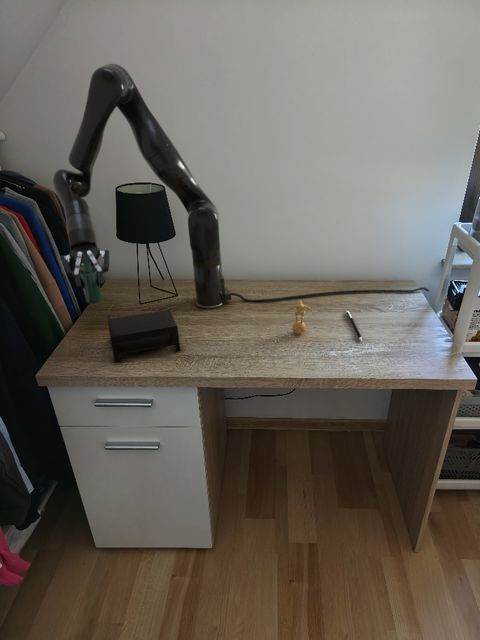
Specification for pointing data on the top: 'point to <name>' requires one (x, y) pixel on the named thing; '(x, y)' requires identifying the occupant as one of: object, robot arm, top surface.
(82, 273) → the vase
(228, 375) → the top surface
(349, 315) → the pen
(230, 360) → the top surface
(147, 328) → the black rectangular case
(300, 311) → the figurine
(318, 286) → the top surface
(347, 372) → the top surface
